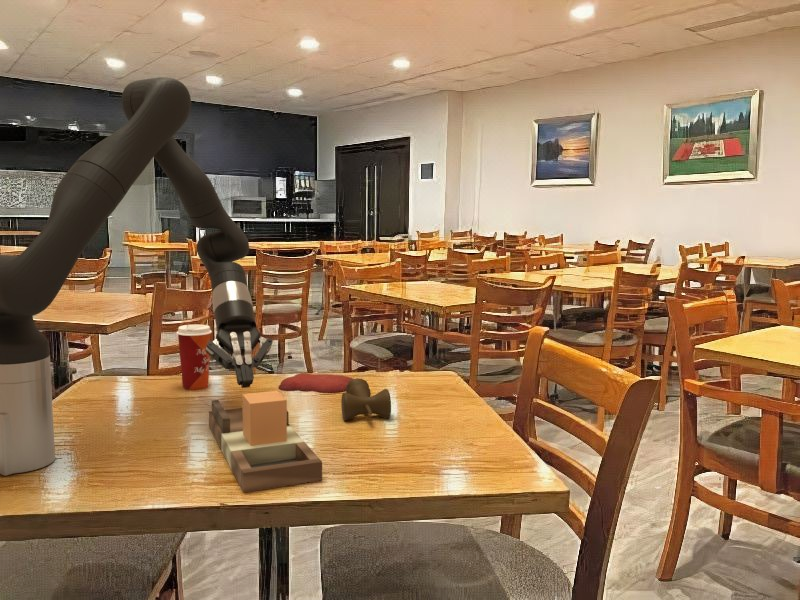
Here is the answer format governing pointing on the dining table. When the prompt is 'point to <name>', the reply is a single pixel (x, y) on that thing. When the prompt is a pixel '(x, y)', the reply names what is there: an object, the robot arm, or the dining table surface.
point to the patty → (315, 383)
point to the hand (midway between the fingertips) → (246, 385)
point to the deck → (262, 454)
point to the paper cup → (194, 355)
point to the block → (264, 417)
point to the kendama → (364, 401)
